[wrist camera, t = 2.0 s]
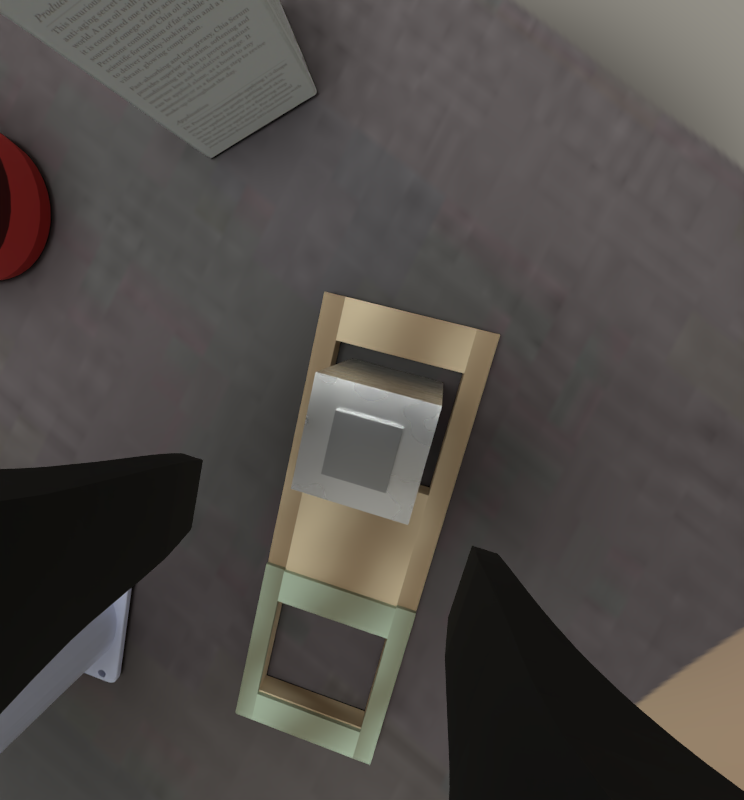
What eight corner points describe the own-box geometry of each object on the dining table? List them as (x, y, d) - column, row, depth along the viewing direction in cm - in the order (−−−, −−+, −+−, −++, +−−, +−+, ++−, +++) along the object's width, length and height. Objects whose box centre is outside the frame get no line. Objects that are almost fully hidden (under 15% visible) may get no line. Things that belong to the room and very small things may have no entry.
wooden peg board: (244, 696, 25) (235, 714, 24) (330, 293, 20) (323, 291, 19) (373, 744, 24) (369, 766, 23) (497, 334, 19) (500, 334, 18)
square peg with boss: (332, 443, 21) (287, 492, 15) (352, 358, 20) (312, 373, 14) (418, 469, 21) (407, 529, 15) (443, 382, 20) (441, 407, 14)
